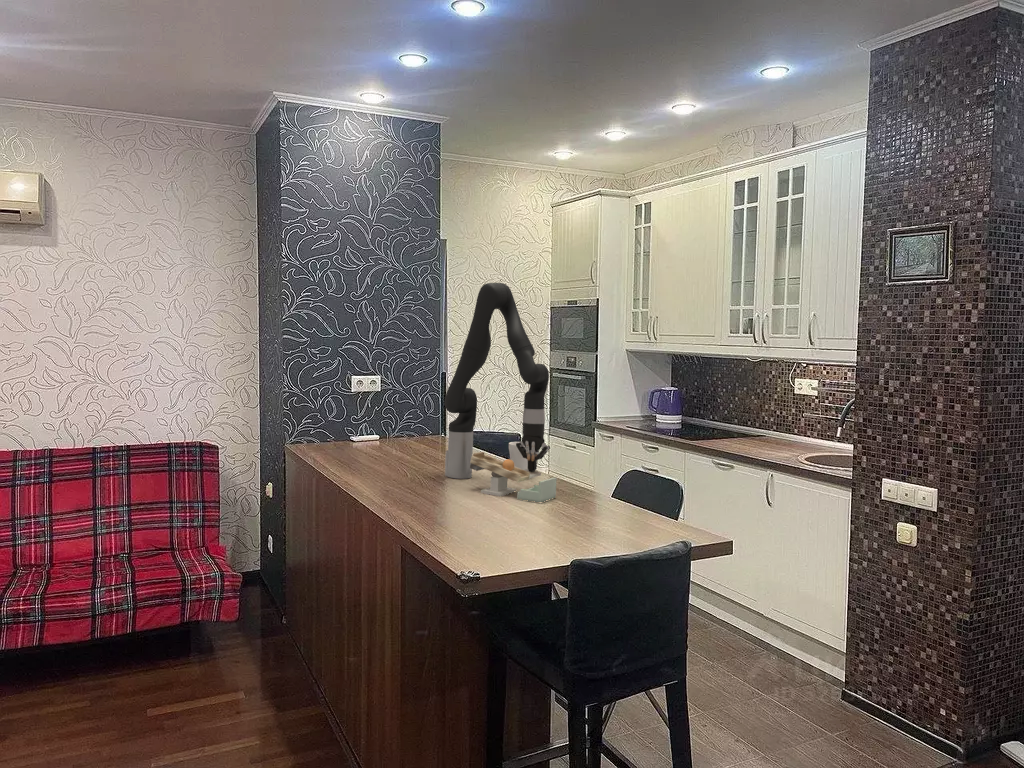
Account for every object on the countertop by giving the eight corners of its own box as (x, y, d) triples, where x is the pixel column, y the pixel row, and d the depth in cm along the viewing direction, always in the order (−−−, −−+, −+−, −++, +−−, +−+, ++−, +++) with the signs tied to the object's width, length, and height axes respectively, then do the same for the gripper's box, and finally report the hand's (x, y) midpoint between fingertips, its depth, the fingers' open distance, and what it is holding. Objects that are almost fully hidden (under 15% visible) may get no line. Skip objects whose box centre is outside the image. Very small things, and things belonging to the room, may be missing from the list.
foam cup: (518, 481, 290) (519, 446, 289) (502, 476, 297) (503, 442, 296) (537, 478, 296) (538, 444, 295) (521, 474, 303) (522, 441, 302)
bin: (517, 499, 260) (517, 478, 259) (532, 494, 268) (533, 474, 268) (540, 503, 255) (541, 482, 255) (555, 498, 264) (556, 477, 263)
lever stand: (480, 493, 268) (481, 476, 267) (496, 488, 276) (497, 472, 276) (500, 496, 263) (501, 480, 263) (516, 491, 272) (516, 475, 271)
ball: (506, 474, 265) (498, 466, 267) (512, 472, 269) (504, 465, 270) (512, 465, 264) (504, 457, 266) (518, 463, 267) (510, 456, 269)
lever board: (468, 468, 272) (472, 453, 271) (492, 462, 284) (495, 448, 283) (516, 488, 262) (520, 473, 261) (539, 481, 274) (542, 467, 273)
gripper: (511, 420, 272) (510, 470, 273) (544, 424, 265) (543, 475, 266) (522, 419, 278) (521, 467, 279) (555, 422, 271) (554, 472, 272)
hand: (532, 471), depth 273 cm, fingers closed
